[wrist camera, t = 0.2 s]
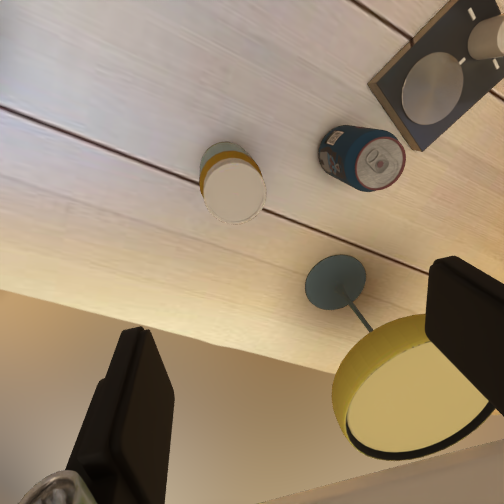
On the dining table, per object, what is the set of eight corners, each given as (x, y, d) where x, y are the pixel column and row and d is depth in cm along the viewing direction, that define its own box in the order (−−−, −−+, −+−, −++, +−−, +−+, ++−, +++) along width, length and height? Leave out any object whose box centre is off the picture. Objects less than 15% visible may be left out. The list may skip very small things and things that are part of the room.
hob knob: (476, 68, 41) (508, 64, 37) (461, 39, 39) (493, 30, 35) (506, 40, 40) (542, 33, 36) (491, 9, 38) (528, -3, 34)
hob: (412, 149, 47) (423, 152, 45) (366, 84, 42) (376, 82, 40) (514, 55, 44) (532, 52, 41) (477, -28, 39) (495, -36, 36)
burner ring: (388, 89, 41) (389, 89, 40) (443, 35, 39) (444, 35, 39) (420, 138, 44) (422, 138, 44) (472, 90, 42) (474, 90, 42)
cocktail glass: (266, 310, 55) (310, 450, 33) (315, 218, 49) (409, 312, 27) (351, 335, 61) (439, 471, 38) (404, 254, 55) (546, 359, 32)
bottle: (260, 159, 45) (284, 183, 31) (233, 201, 46) (245, 240, 33) (217, 130, 42) (223, 142, 29) (191, 175, 44) (185, 206, 31)
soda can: (371, 147, 46) (423, 160, 35) (337, 184, 48) (376, 207, 37) (340, 113, 43) (385, 115, 33) (305, 154, 45) (338, 169, 34)
